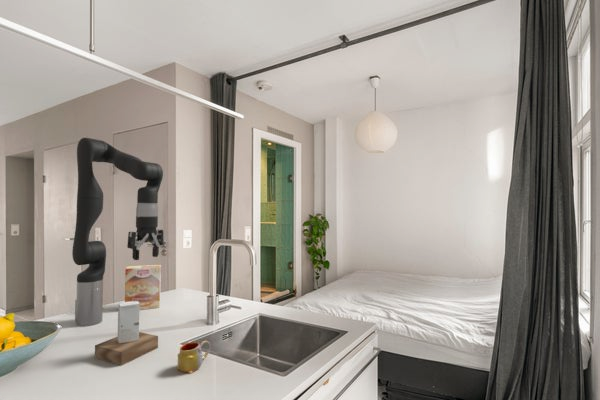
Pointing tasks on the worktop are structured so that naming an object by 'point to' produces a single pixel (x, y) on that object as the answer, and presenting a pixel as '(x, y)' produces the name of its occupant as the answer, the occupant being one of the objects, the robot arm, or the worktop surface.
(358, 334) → the worktop surface
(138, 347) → the base
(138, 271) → the coffeecake box
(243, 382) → the worktop surface
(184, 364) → the mug
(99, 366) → the worktop surface
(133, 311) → the skincare box
